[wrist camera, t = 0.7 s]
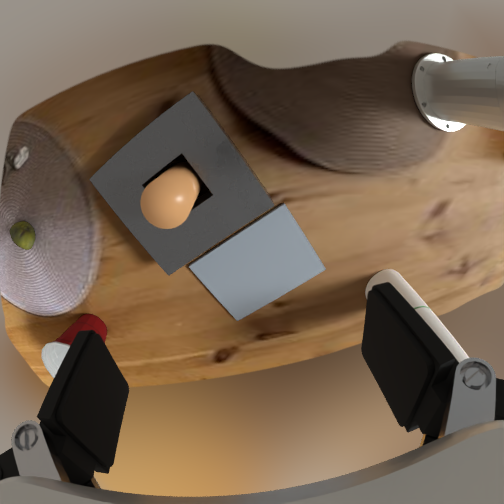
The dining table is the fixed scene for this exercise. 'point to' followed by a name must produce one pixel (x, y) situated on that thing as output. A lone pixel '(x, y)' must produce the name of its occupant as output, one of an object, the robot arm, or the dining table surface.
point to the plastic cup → (70, 341)
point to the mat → (258, 263)
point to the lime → (23, 235)
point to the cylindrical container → (418, 308)
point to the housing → (206, 166)
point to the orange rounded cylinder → (171, 196)
